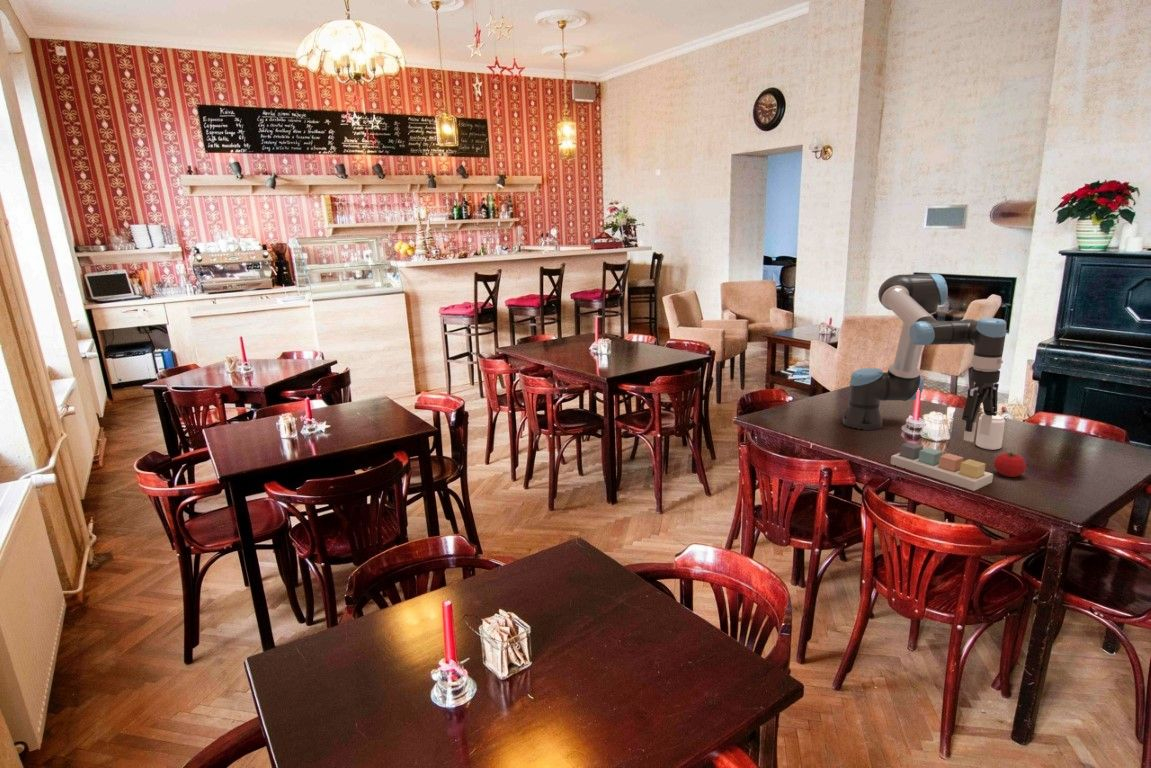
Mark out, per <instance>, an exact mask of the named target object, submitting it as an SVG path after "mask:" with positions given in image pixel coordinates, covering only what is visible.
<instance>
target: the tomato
mask: <svg viewBox="0 0 1151 768" xmlns="http://www.w3.org/2000/svg"><path fill="white" fill-rule="evenodd" d="M1026 464H1027V463H1026V461H1025V460H1024V458H1023V457H1022V456H1020V455H1018V454H1015V453H1012V452H1003V453H1000V454H999V455H997V456H996V458H995V459H994V461H993V466H994V468H995V470H996V471H997V473H998V474H1000V475H1002V476H1005V477H1011V478H1012V477H1013V478H1015V477H1018V476H1022V474H1023V473H1025V472H1026V469H1027V465H1026Z"/></svg>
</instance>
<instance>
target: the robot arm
mask: <svg viewBox="0 0 1151 768" xmlns="http://www.w3.org/2000/svg"><path fill="white" fill-rule="evenodd" d="M948 289H949V288H948V285H947V281H946V280H945V278H944V276H942V275H941V274H938V273H917V274H916V273H915V274H910V273H909V274H896V275H893V276H891V277H889V278H887V279H886V280H884V282H882V284H881V285H880V287H879V289H878V293H877V296H878V300H879V302H880V304H881V305H882V306H883V308H885V310H889V311H892V312H893V313H894V314H895V315H896V316H897V317H898V318H899V319H900V320H901V322H902V326H901V331H900V335H899V339H898V343H897V344H898V345H897V348H896V352H895V358H894V359H893V360H894V362H893V363H892V364H890V365H889V366H888V369H887V371H886V372H883V370H882V369H880V368H876V367H875V368H874V367H873V368H872V367H867V368H860V369H856V370H854V371H853V372H852V373H851V376H850V380H849V397H848V406H847V408H846V410H845V413H844V415H843V418H842V424H843V425H844V426H845V425H846V426H845V427H848V426H849V427H848V428H850V427H852V428H851V429H854V428H857V429H856V430H860V429H863V430H862V431H875V430H879V429H882V428H883V418H882V413H881V409H880V403H881V401H884V402H888V401H902V402H907V401H914V400H917V399H916V392H917V390H918V388H919V390H920V395H921V394H922V392H923V389H924V377H923V375H922V373H921V371H920V369H919V368H918V366H919V363H920V358H921V354H922V351H923V346H932V345H933V346H936V345H971V346H974V347H973V355H972V362H971V367H972V369H970V370H971V372H970V377H969V379H970V380H971V381H972V382H974V385H973V388H968V389H967V396H966V401H965V403H964V409H963V411H962V412H963V413H962V417H961V420H962V421H965V425H964V431H963V432H964V433H963V434H964V435H963V440H964V441H966V442H970V443H974V440H975V435H976V427H977V421H976V419H977V416H978V413H979V410H980V408H981V406H982V408H983V413H981V414H982V420H981V428H980V434H983V435H987V436H990V430H991V423H992V415H993V416H996V415H997V412H998V393H999V392H998V390H999V385H1000V384H999V381H1000V376H1001V370H1000V369H1001V367H1002V364H1003V363H1004V362H1003V354H1004V347H1005V342H1006V336H1007V321H1006V320H1004V319H1002V318H995V317H993V318H992V317H983V318H980V319H978V320H976V319H973V318H971V319H970V318H963V319H960V320H953V321H952V320H947V321H946V320H937V319H936V318H935V317H934V316H932V315H934V314H935V313H936V312H937V310H938V306H944V305H945V303H946V302H947V301H948V295H949V294H948V292H949V291H948ZM921 376H922V378H921ZM921 384H922V385H921ZM981 404H982V405H981ZM985 414H986V415H985Z"/></svg>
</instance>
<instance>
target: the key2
mask: <svg viewBox="0 0 1151 768" xmlns="http://www.w3.org/2000/svg"><path fill="white" fill-rule="evenodd" d="M943 453H944V452H943V451H942V450H938V449H935V448H930V447H925V448H923V450H920V454H919V462H922V463H925V464H929V465H932V466H935V465H938V464H939V460H940V456H942V455H944V454H943Z"/></svg>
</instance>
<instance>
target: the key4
mask: <svg viewBox="0 0 1151 768" xmlns="http://www.w3.org/2000/svg"><path fill="white" fill-rule="evenodd" d="M985 470H986V463H985V462H981V461H977V460H974V459H970V458H969V459H966V460H963V462H961V467H960V474H961V475H965V476H968V477H971V478H974V479H978V478H980V477H982V476H984V472H986V471H985Z"/></svg>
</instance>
